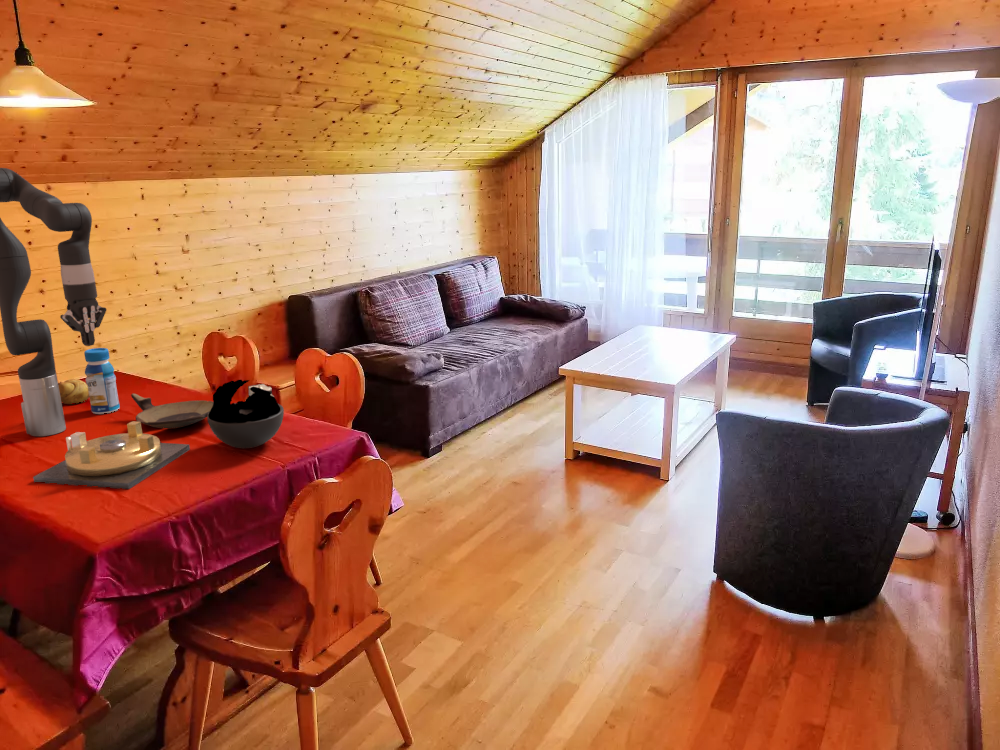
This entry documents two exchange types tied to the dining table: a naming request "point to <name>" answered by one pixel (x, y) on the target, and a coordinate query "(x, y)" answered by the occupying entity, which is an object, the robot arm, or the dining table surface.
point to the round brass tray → (112, 452)
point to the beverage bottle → (101, 381)
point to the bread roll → (73, 391)
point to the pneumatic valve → (261, 388)
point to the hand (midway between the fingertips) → (89, 345)
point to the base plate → (118, 480)
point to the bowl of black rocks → (244, 416)
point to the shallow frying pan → (171, 412)
